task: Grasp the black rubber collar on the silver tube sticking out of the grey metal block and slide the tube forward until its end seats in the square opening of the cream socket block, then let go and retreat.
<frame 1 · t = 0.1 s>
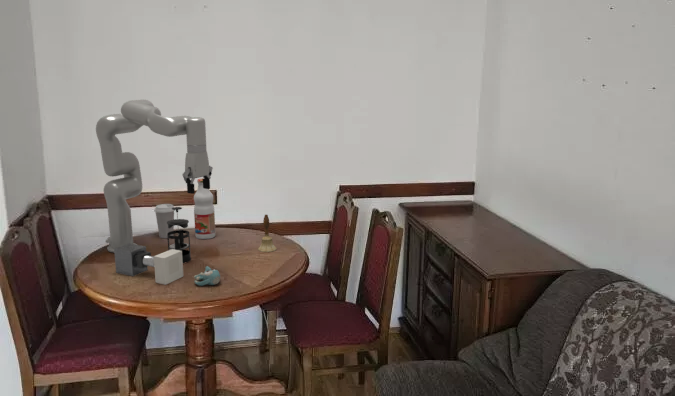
hand: (198, 190, 245), 31 cm above the table, tool pointing down, fingers open, 9 cm apart
fruit juice: (205, 237, 291), on the table
socket: (169, 279, 235), on the table
stuffed animal: (207, 283, 232), on the table
coffee cup: (166, 236, 291), on the table
hand bell: (267, 249, 272), on the table
grey metal block: (131, 271, 243), on the table
rod: (138, 258, 240), point 6 cm above the table, slide at 0.0 cm
french press: (180, 260, 258), on the table
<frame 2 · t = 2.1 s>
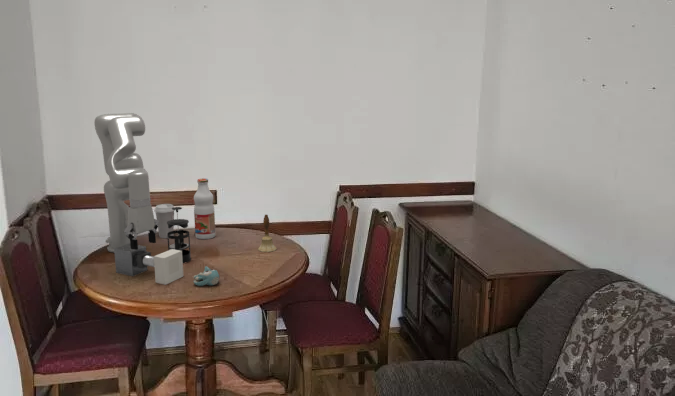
hand: (143, 245, 237), 12 cm above the table, tool pointing down, fingers open, 9 cm apart
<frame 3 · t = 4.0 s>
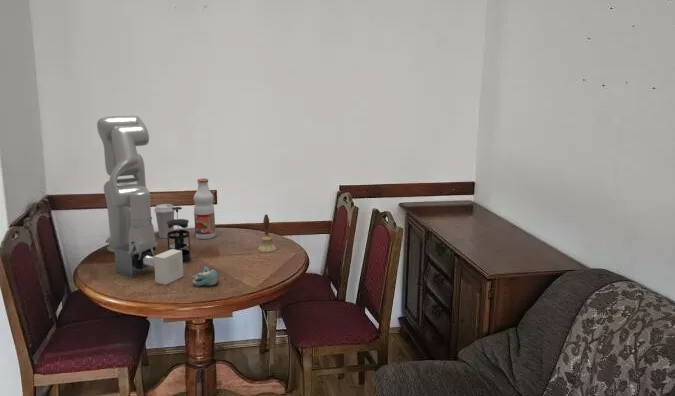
hand: (144, 266, 240), 3 cm above the table, tool pointing down, fingers closed on rod, 5 cm apart
rod: (138, 258, 240), point 6 cm above the table, slide at 0.0 cm, touching gripper
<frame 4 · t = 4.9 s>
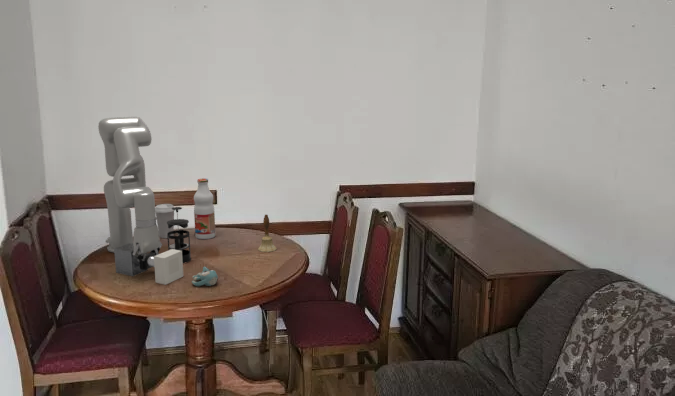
hand: (149, 266, 239), 3 cm above the table, tool pointing down, fingers closed on rod, 5 cm apart
rod: (142, 259, 239), point 6 cm above the table, slide at 2.3 cm, touching gripper
everything else where it was.
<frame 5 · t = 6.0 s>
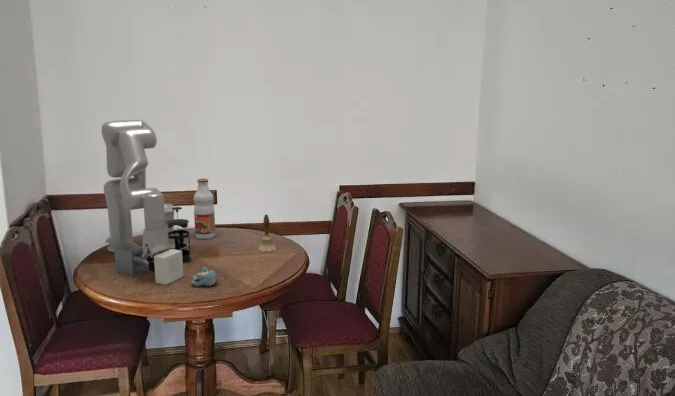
hand: (158, 268, 237), 3 cm above the table, tool pointing down, fingers closed on rod, 5 cm apart
rod: (151, 261, 237), point 6 cm above the table, slide at 6.9 cm, touching gripper
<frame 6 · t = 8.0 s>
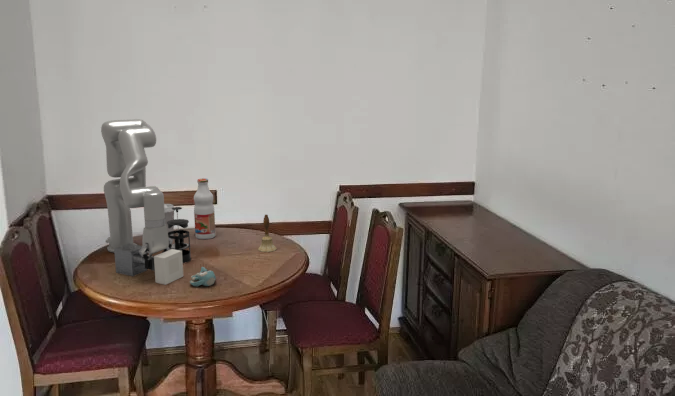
hand: (157, 265, 237), 5 cm above the table, tool pointing down, fingers open, 9 cm apart
rod: (151, 261, 237), point 6 cm above the table, slide at 7.0 cm
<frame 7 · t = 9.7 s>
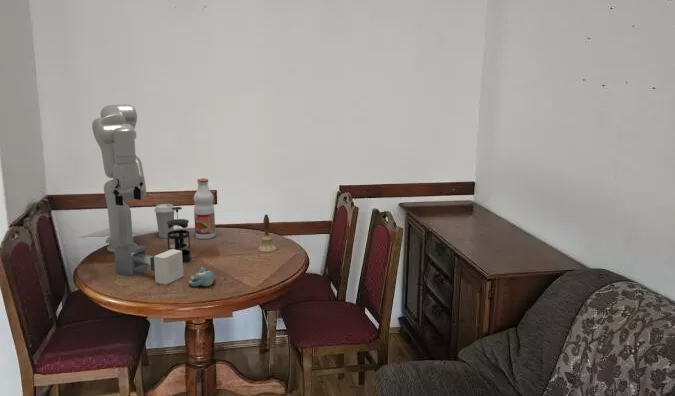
hand: (128, 202, 239), 28 cm above the table, tool pointing down, fingers open, 9 cm apart
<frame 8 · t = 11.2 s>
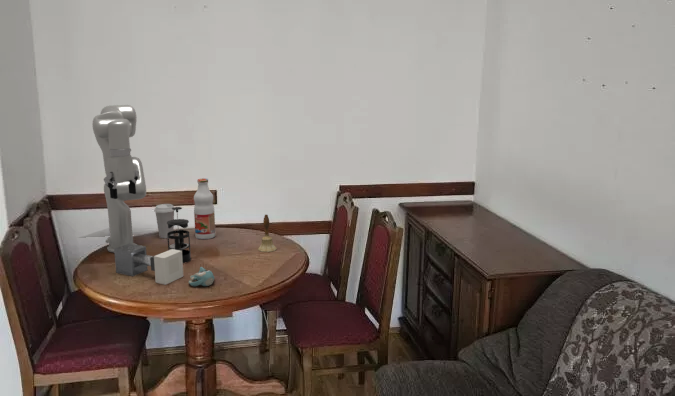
hand: (123, 195, 240), 30 cm above the table, tool pointing down, fingers open, 9 cm apart
at the end: rod slide at 7.0 cm; the gripper is holding nothing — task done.
